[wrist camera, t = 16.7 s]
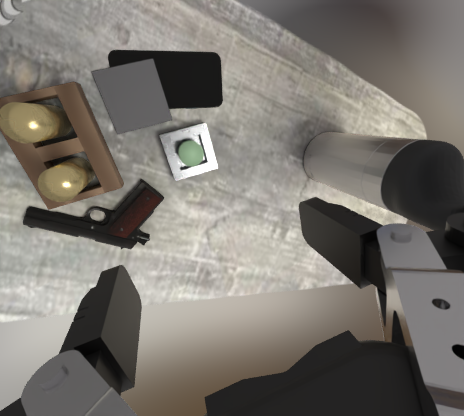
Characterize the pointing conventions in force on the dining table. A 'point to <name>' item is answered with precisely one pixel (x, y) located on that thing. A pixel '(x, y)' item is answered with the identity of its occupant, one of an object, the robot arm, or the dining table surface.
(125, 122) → the mat
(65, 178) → the billet seated
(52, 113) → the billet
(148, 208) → the handgun
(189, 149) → the button
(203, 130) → the button housing
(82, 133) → the brown wooden rectangular frame
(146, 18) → the dining table surface
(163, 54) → the smartphone
